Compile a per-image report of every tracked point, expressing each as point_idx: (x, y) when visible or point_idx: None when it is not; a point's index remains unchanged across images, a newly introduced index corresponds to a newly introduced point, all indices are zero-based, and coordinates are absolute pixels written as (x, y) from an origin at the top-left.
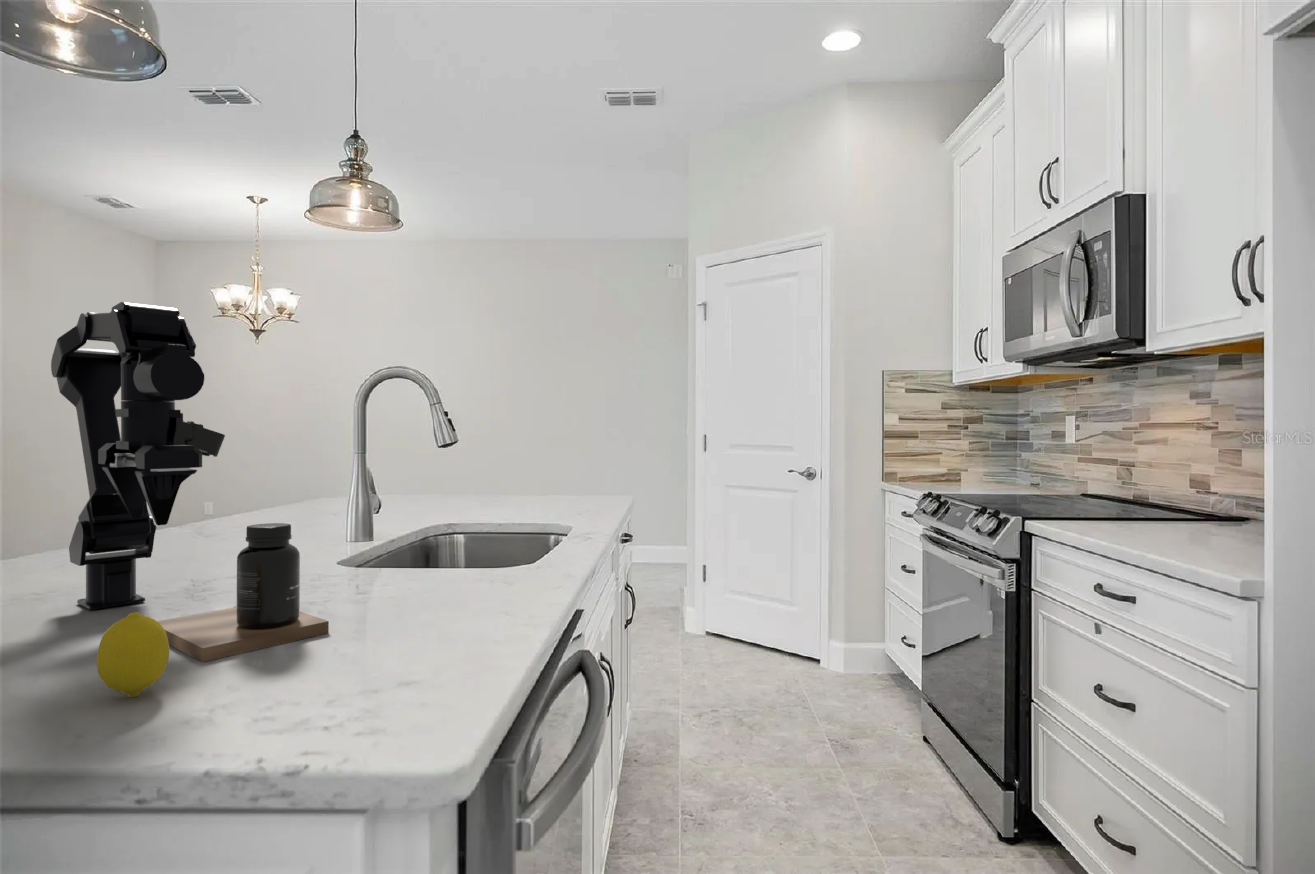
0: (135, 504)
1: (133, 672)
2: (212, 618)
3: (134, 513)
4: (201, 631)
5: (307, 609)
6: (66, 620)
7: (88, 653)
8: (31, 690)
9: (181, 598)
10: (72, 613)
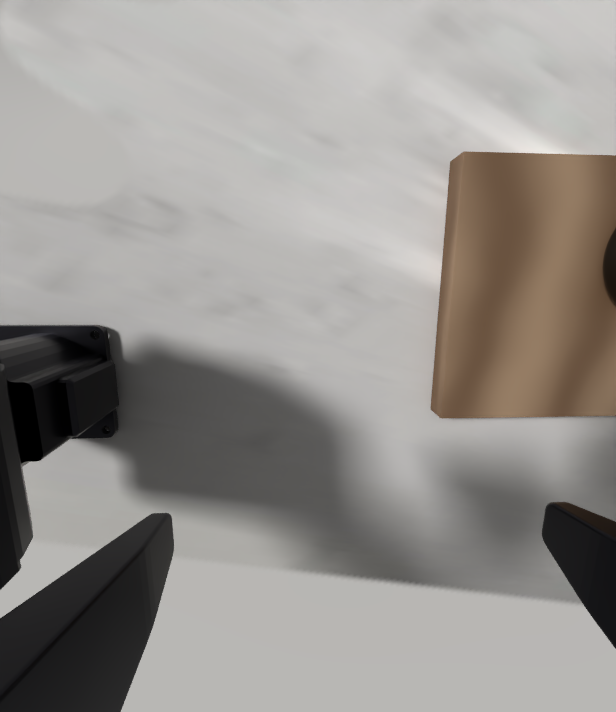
0: (133, 612)
1: None
2: (516, 322)
3: (165, 567)
4: (596, 376)
5: (504, 78)
6: (174, 481)
7: (465, 505)
8: None
9: (117, 247)
10: (110, 460)
